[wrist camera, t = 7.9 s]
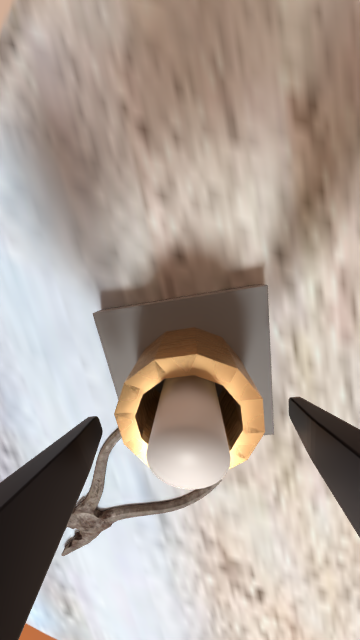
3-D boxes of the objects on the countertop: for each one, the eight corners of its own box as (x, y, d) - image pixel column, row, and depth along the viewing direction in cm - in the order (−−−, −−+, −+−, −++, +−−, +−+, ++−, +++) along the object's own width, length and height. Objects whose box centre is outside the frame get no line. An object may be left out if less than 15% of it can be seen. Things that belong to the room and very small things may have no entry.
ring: (235, 321, 10) (258, 345, 7) (245, 413, 11) (267, 472, 8) (128, 337, 11) (99, 367, 7) (151, 422, 12) (135, 480, 9)
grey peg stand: (260, 284, 10) (350, 298, 4) (267, 422, 13) (332, 546, 7) (101, 310, 11) (5, 348, 5) (136, 433, 14) (96, 549, 8)
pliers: (237, 470, 14) (119, 582, 18) (234, 459, 14) (122, 569, 19) (129, 409, 13) (36, 543, 18) (133, 401, 14) (43, 531, 18)
